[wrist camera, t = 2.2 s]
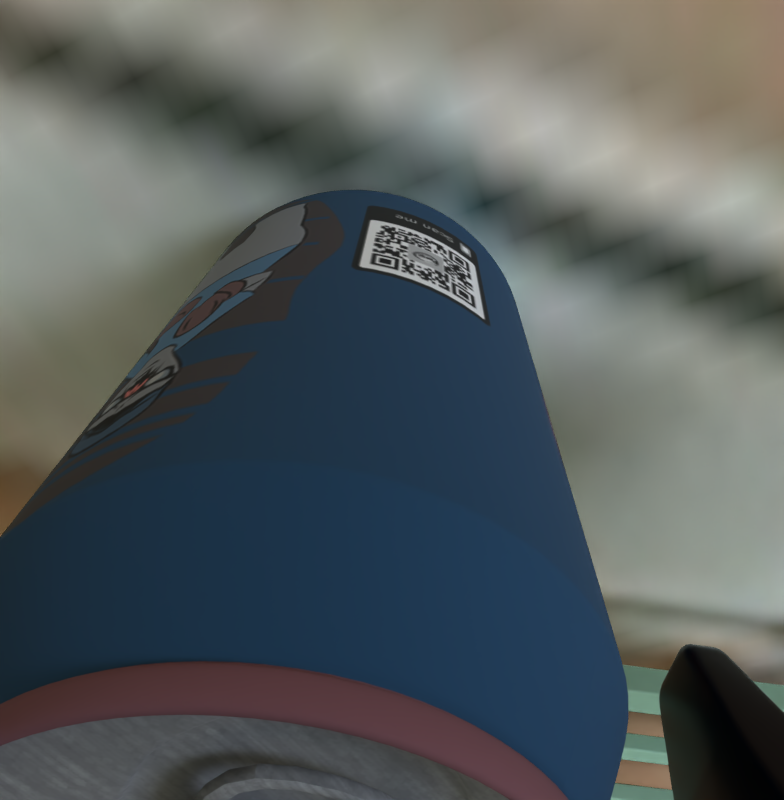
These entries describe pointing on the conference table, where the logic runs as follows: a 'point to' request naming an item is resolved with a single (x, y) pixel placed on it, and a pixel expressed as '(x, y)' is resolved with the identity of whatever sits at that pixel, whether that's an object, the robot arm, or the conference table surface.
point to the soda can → (315, 545)
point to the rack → (649, 748)
